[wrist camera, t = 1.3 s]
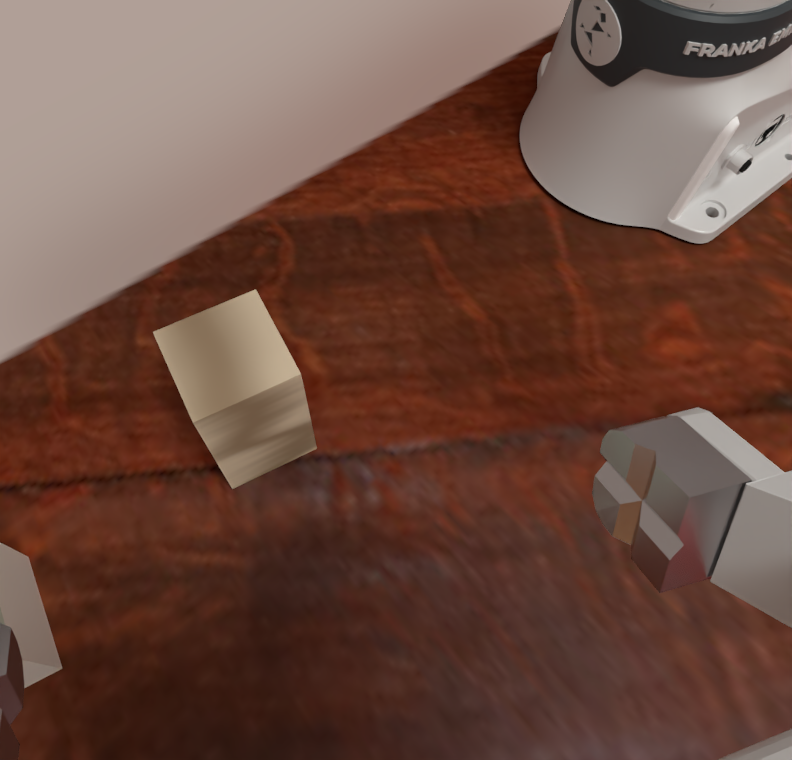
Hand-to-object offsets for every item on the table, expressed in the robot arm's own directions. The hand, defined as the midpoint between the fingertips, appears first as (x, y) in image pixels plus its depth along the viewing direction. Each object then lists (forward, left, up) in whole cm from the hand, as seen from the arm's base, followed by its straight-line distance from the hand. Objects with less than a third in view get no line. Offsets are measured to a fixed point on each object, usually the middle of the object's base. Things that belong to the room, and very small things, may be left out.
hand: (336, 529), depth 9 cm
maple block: (0, -14, -27) cm, 31 cm away
